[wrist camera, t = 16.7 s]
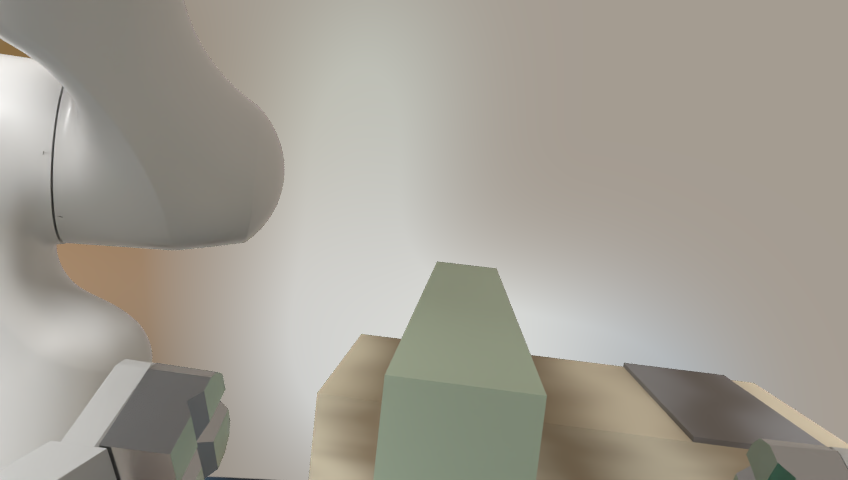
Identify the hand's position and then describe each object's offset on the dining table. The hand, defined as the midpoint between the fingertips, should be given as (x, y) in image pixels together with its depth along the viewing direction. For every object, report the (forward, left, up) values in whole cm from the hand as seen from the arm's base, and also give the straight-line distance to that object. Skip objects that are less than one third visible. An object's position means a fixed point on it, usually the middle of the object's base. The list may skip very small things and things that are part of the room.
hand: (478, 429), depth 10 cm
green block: (0, +16, -4) cm, 16 cm away
